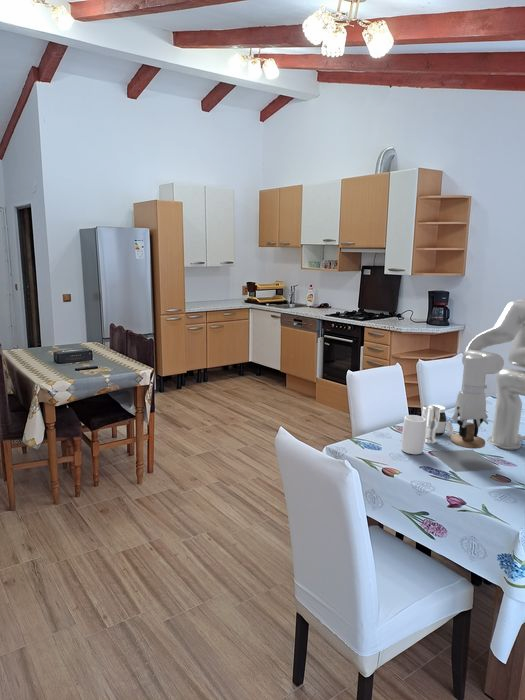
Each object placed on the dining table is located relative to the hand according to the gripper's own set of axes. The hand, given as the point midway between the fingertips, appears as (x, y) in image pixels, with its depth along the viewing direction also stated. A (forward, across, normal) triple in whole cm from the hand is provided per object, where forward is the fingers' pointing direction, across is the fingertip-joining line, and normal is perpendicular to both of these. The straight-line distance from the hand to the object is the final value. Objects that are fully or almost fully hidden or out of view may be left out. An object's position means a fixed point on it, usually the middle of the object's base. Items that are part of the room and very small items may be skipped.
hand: (468, 435), depth 192 cm
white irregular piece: (+11, -5, -28) cm, 31 cm away
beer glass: (+11, +5, -20) cm, 23 cm away
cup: (+10, +17, -10) cm, 22 cm away
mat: (+10, +1, 0) cm, 10 cm away
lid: (+2, 0, 0) cm, 2 cm away
